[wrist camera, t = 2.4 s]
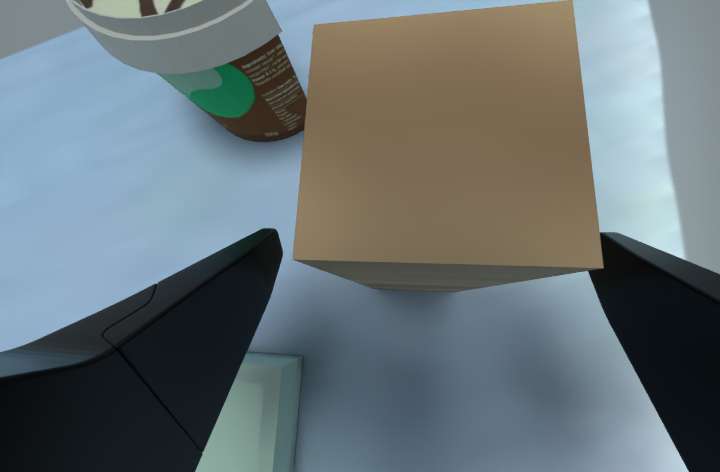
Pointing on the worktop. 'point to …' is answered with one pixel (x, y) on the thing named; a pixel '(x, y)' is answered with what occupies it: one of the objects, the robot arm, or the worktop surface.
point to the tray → (257, 418)
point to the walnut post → (448, 151)
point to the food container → (208, 57)
